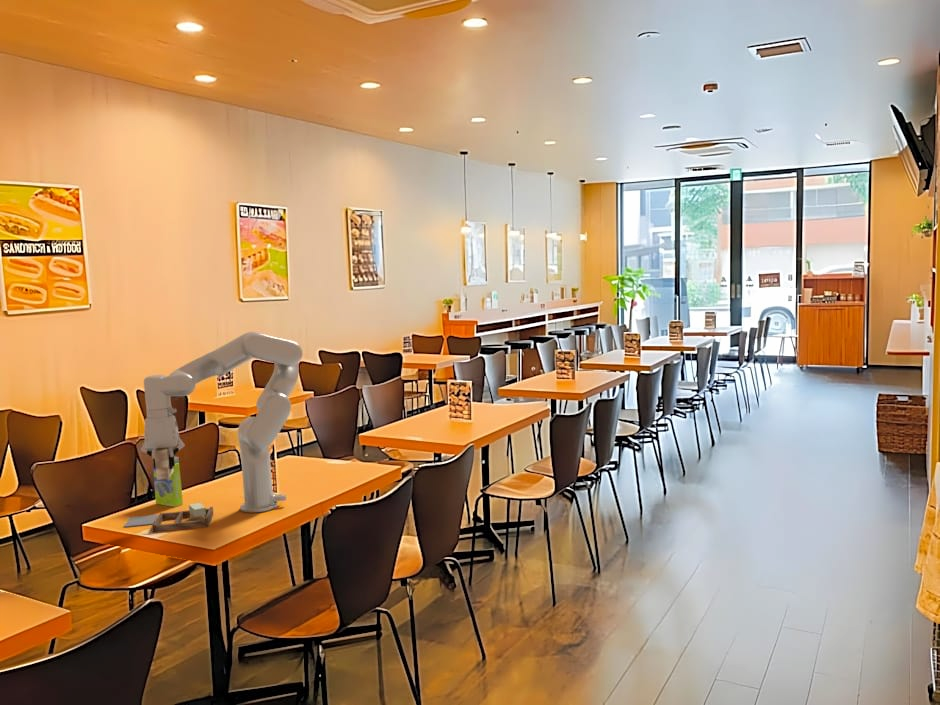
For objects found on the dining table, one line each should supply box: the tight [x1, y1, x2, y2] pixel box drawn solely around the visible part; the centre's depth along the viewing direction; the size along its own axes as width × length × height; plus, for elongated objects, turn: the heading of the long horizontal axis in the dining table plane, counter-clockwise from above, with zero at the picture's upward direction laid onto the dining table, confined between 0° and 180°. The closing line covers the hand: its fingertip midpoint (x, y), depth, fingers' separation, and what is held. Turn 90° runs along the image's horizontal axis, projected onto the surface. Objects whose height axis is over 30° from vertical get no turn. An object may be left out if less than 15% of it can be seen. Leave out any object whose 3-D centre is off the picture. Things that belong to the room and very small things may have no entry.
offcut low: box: [189, 513, 206, 521], centre depth 261 cm, size 4×9×3 cm, turn 19°
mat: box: [123, 514, 159, 528], centre depth 264 cm, size 9×10×1 cm
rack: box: [151, 506, 214, 533], centre depth 260 cm, size 17×14×2 cm
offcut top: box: [188, 502, 207, 517], centre depth 261 cm, size 4×7×2 cm, turn 34°
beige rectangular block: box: [154, 448, 174, 480], centre depth 257 cm, size 4×10×9 cm, turn 12°
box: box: [152, 456, 184, 508], centre depth 282 cm, size 10×4×17 cm, turn 58°
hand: (164, 468), depth 257 cm, fingers closed on beige rectangular block, 3 cm apart
